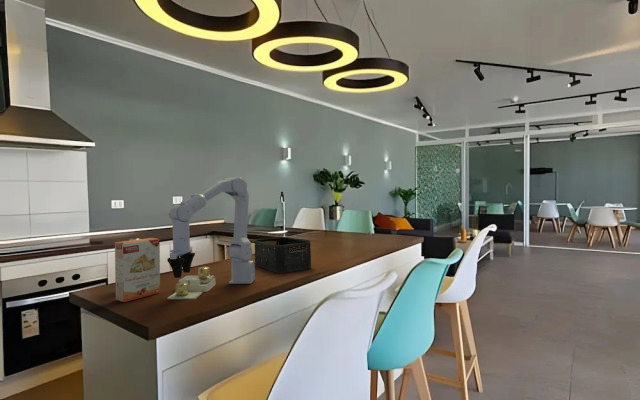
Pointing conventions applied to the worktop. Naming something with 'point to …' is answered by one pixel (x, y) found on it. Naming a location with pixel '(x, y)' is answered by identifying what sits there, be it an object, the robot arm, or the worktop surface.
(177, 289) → the cylinder
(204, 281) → the scale pan
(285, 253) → the storage bin
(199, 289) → the scale
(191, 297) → the rubber mat
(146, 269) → the cracker box
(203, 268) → the brass weight
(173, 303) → the worktop surface
